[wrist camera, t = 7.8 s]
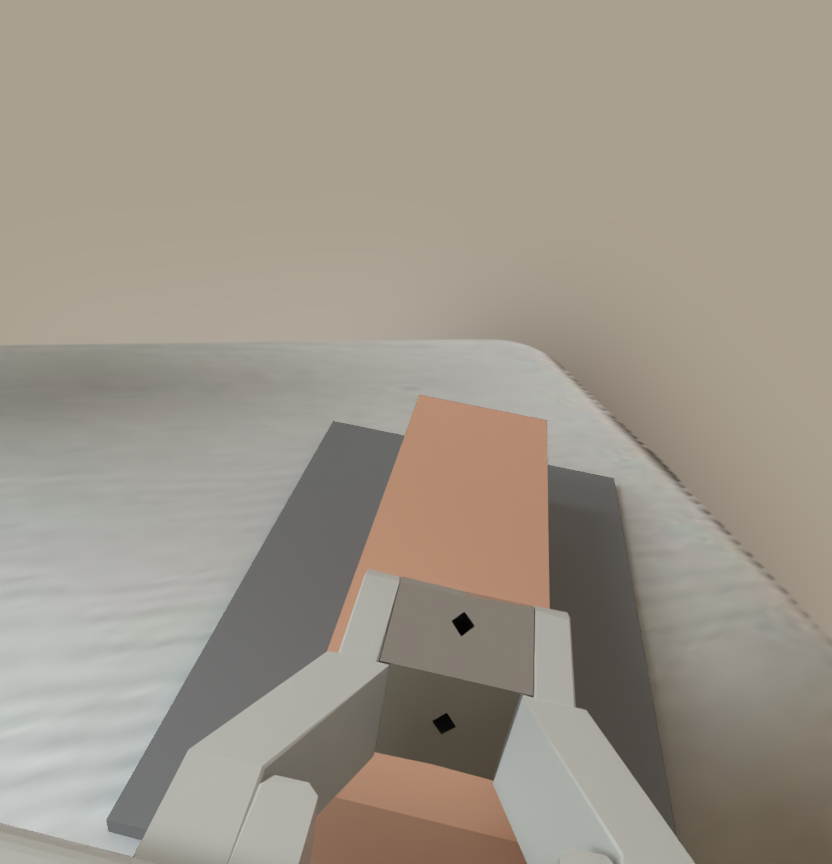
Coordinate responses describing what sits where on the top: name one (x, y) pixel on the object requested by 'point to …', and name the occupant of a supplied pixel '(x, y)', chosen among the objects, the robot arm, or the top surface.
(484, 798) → the terracotta block
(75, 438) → the top surface
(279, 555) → the charcoal mat
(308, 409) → the top surface
